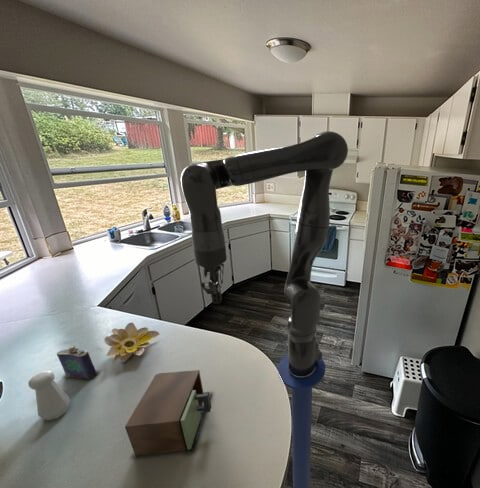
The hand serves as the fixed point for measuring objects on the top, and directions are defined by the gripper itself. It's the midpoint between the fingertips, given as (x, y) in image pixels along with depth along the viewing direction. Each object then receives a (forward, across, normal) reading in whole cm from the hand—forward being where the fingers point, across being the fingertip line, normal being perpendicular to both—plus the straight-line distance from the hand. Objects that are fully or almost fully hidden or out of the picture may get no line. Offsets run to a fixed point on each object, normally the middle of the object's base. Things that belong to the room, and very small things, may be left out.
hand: (217, 302), depth 70 cm
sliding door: (+26, -18, +2) cm, 32 cm away
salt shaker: (+27, -8, +42) cm, 50 cm away
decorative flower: (+27, +13, +34) cm, 45 cm away
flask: (+27, +4, +44) cm, 52 cm away
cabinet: (+27, -14, +10) cm, 32 cm away
